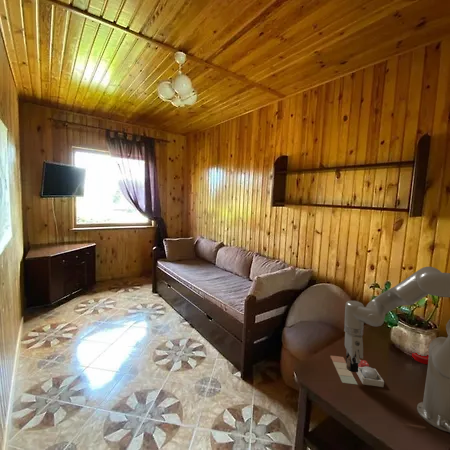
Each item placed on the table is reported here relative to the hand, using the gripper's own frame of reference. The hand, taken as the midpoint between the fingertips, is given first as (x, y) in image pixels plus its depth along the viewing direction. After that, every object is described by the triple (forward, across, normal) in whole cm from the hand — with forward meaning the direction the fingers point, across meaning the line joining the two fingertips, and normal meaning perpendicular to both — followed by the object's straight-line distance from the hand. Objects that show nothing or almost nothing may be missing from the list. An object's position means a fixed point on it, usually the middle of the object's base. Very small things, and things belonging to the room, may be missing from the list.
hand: (351, 367), depth 113 cm
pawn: (+1, 0, 0) cm, 1 cm away
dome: (+7, +3, -9) cm, 12 cm away
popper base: (+7, +6, -9) cm, 13 cm away
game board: (+7, +8, +1) cm, 11 cm away
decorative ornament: (+9, +26, -45) cm, 53 cm away
